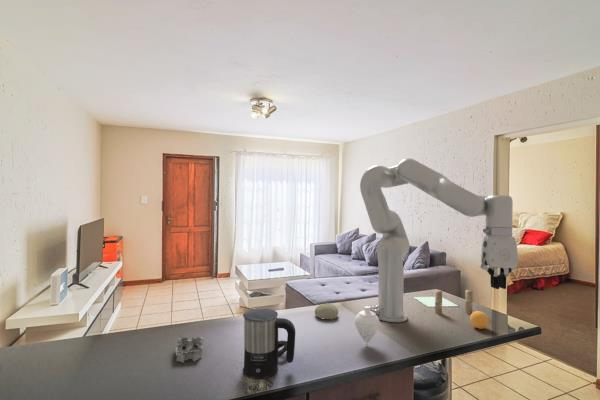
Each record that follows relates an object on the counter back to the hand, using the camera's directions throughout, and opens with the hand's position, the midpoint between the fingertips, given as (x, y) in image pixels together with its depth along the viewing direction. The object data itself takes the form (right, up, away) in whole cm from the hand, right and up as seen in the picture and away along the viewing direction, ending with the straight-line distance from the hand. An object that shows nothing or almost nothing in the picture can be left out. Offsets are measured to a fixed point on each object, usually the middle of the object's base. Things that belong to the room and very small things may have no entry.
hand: (498, 287), depth 106 cm
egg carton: (-98, -16, -13) cm, 100 cm away
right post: (+4, -17, +26) cm, 31 cm away
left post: (-9, -17, +25) cm, 31 cm away
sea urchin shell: (-55, -17, +19) cm, 61 cm away
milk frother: (-75, -16, -18) cm, 79 cm away
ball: (-1, -14, +9) cm, 17 cm away
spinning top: (-45, -17, -6) cm, 48 cm away
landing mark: (-4, -18, +40) cm, 44 cm away
